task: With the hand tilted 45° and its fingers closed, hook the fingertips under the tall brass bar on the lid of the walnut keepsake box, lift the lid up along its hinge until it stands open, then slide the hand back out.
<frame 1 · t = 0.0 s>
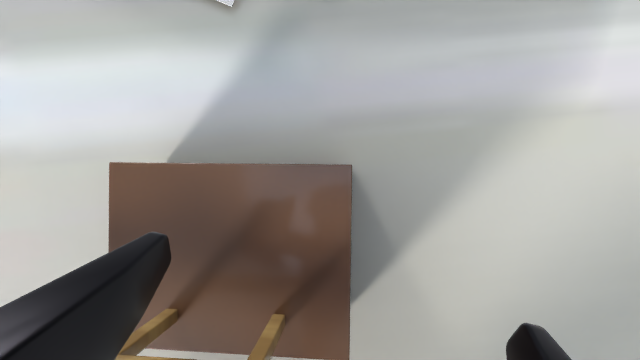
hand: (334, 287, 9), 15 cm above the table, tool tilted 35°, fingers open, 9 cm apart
lid: (203, 273, 16), point 8 cm above the table, hinge at 0.0°
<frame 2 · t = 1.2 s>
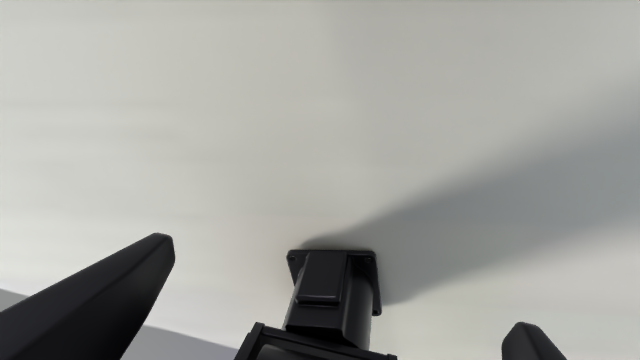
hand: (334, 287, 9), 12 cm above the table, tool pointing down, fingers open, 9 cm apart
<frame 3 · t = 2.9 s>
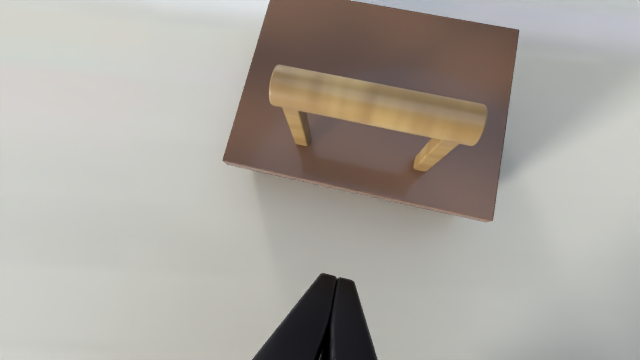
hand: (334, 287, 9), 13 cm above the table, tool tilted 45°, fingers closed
lid: (381, 65, 15), point 8 cm above the table, hinge at 0.0°
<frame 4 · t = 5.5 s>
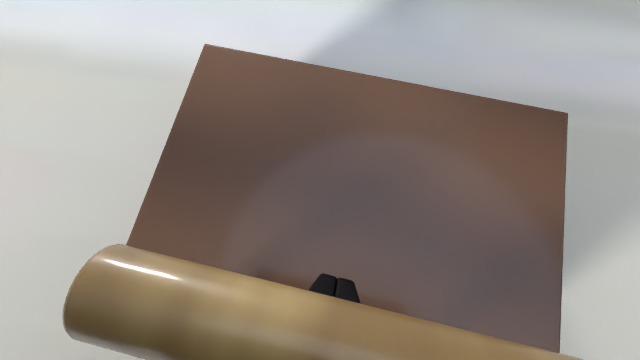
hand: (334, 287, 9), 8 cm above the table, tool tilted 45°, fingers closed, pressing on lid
lid: (356, 189, 8), point 9 cm above the table, hinge at 5.0°, touching gripper
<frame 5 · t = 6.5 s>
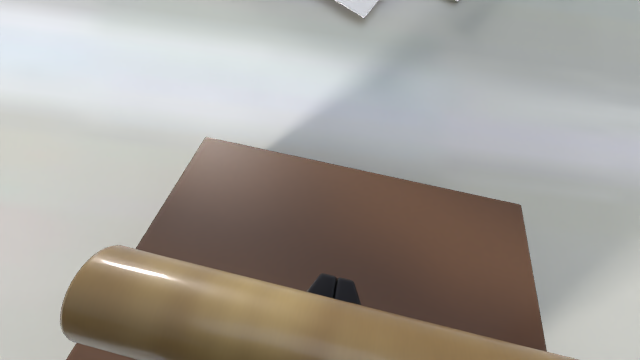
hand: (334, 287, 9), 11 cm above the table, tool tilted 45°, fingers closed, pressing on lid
lid: (343, 246, 9), point 10 cm above the table, hinge at 27.0°, touching gripper
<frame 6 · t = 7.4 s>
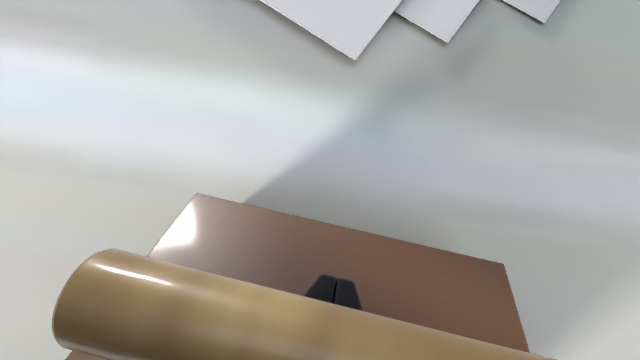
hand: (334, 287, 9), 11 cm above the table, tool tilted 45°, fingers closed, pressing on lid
lid: (334, 288, 9), point 11 cm above the table, hinge at 41.7°, touching gripper
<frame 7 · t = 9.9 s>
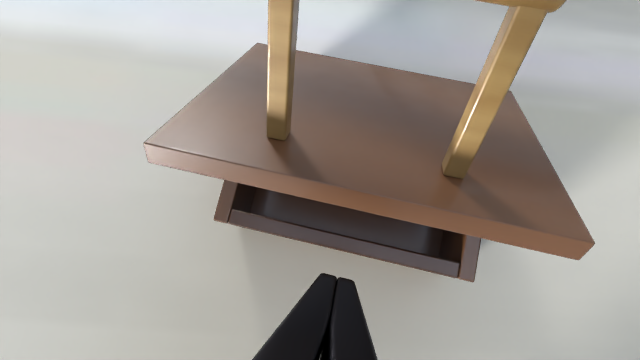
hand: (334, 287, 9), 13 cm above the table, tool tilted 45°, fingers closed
box: (354, 175, 23), on the table
lid: (387, 40, 12), point 11 cm above the table, hinge at 41.7°
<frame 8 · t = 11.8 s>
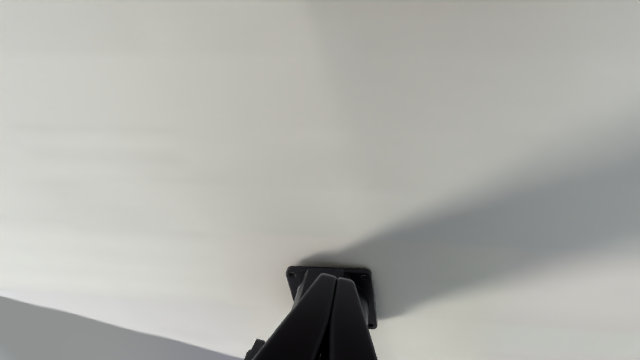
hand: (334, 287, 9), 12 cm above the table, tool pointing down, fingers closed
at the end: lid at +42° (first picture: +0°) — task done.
